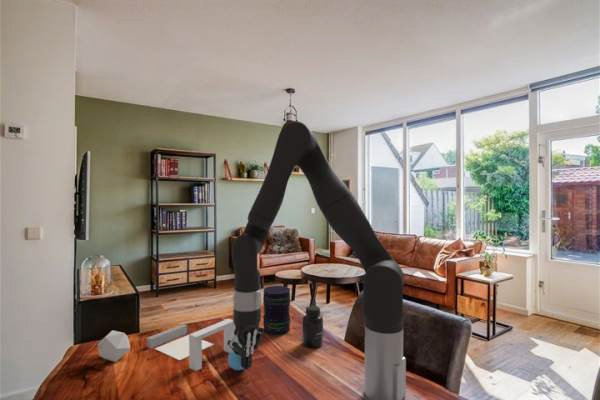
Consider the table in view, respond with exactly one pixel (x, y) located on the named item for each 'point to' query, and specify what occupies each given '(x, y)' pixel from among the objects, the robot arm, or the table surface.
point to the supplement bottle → (312, 327)
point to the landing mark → (180, 348)
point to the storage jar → (276, 310)
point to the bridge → (196, 337)
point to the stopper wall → (166, 336)
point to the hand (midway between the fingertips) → (246, 367)
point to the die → (113, 346)
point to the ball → (234, 361)
